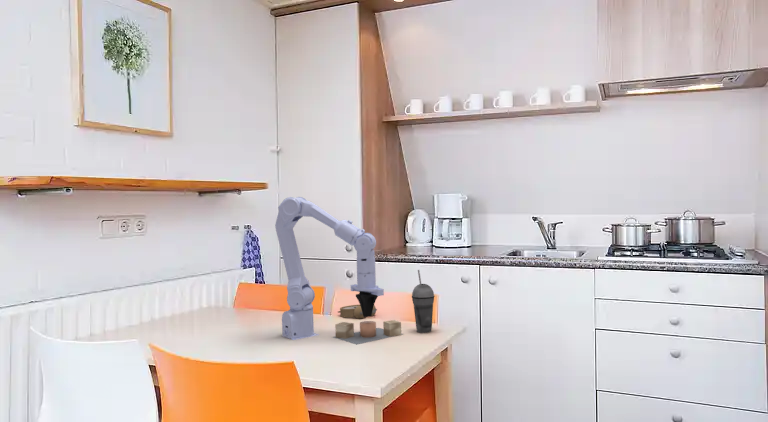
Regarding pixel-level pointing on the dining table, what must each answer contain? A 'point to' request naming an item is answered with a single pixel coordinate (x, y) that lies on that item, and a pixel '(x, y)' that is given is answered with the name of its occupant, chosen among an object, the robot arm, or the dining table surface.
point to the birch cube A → (344, 330)
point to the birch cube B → (392, 328)
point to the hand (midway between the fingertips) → (367, 316)
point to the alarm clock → (354, 311)
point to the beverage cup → (423, 306)
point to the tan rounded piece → (368, 329)
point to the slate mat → (359, 340)
